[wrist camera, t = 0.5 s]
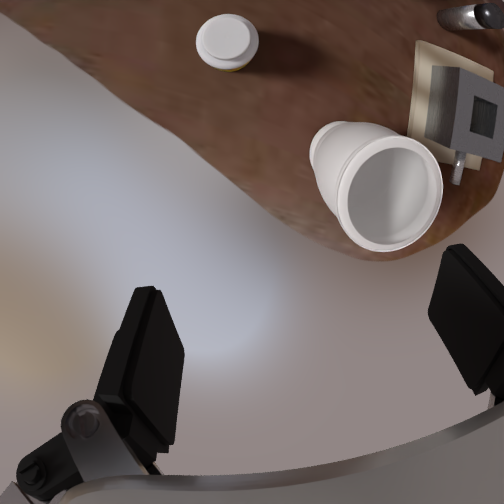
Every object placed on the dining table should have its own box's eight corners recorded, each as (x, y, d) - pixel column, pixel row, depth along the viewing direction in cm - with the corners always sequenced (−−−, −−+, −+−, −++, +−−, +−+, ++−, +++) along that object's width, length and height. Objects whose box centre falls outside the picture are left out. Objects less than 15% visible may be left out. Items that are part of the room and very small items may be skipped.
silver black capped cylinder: (436, 6, 24) (486, -2, 15) (454, 14, 24) (504, 10, 16) (436, 26, 26) (487, 21, 17) (454, 33, 26) (505, 33, 17)
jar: (283, 141, 35) (311, 180, 22) (353, 97, 32) (418, 113, 19) (328, 207, 40) (368, 273, 27) (391, 166, 37) (455, 215, 24)
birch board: (415, 40, 28) (420, 40, 27) (488, 70, 28) (493, 71, 27) (403, 154, 36) (408, 156, 35) (474, 167, 37) (479, 170, 36)
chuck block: (431, 65, 28) (460, 67, 23) (483, 85, 29) (511, 92, 24) (417, 172, 36) (441, 188, 31) (467, 181, 37) (492, 196, 31)
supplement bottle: (205, 74, 30) (193, 71, 22) (203, 30, 27) (190, 11, 19) (255, 70, 30) (262, 66, 22) (253, 26, 27) (259, 6, 19)
